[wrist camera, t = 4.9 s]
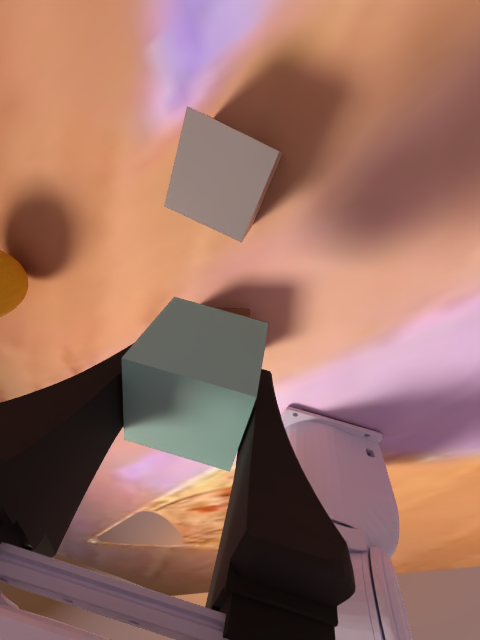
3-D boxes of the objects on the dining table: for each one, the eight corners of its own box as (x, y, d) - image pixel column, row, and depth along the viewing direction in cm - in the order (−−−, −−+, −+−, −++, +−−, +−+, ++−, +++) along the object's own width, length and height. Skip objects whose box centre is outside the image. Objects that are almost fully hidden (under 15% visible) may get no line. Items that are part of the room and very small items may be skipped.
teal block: (268, 323, 12) (256, 397, 9) (246, 390, 15) (229, 471, 11) (174, 296, 13) (121, 358, 9) (167, 367, 15) (124, 439, 11)
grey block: (283, 152, 16) (279, 151, 12) (252, 224, 18) (241, 242, 15) (213, 118, 16) (187, 106, 12) (191, 195, 18) (164, 206, 14)
